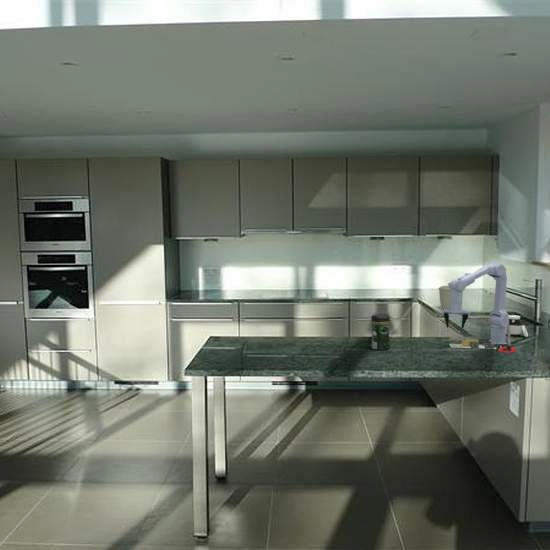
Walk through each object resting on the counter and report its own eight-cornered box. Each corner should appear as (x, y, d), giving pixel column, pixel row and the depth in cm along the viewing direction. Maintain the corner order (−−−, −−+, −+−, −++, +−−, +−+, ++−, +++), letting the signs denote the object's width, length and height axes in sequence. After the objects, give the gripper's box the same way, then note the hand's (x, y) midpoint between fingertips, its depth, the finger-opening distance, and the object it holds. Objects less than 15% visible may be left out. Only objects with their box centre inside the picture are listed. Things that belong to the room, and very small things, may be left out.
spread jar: (503, 334, 335) (504, 314, 334) (522, 334, 335) (523, 314, 334) (511, 338, 323) (511, 318, 322) (531, 338, 323) (531, 318, 322)
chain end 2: (482, 345, 304) (482, 340, 303) (493, 345, 302) (493, 340, 302) (485, 348, 295) (485, 343, 295) (496, 348, 294) (496, 344, 294)
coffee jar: (383, 346, 304) (383, 312, 302) (392, 349, 297) (392, 314, 295) (368, 348, 300) (368, 313, 298) (376, 351, 293) (377, 315, 291)
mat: (449, 344, 307) (449, 343, 307) (493, 345, 303) (493, 345, 303) (451, 348, 298) (451, 347, 298) (497, 349, 294) (497, 348, 294)
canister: (437, 311, 426) (437, 283, 424) (438, 307, 443) (438, 280, 441) (462, 311, 420) (463, 283, 419) (462, 308, 438) (463, 281, 436)
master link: (461, 345, 303) (461, 338, 302) (477, 345, 301) (477, 338, 301) (462, 346, 300) (462, 339, 299) (478, 347, 298) (478, 339, 298)
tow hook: (513, 355, 284) (517, 350, 291) (513, 330, 282) (518, 326, 289) (495, 353, 289) (500, 349, 296) (495, 328, 287) (501, 324, 294)
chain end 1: (468, 344, 305) (468, 340, 304) (476, 344, 304) (476, 340, 304) (471, 348, 296) (471, 343, 296) (479, 348, 296) (479, 343, 296)
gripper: (443, 302, 296) (441, 328, 297) (472, 304, 293) (470, 329, 294) (441, 301, 303) (440, 326, 304) (469, 302, 300) (468, 327, 301)
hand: (454, 327), depth 299 cm, fingers open, 7 cm apart
